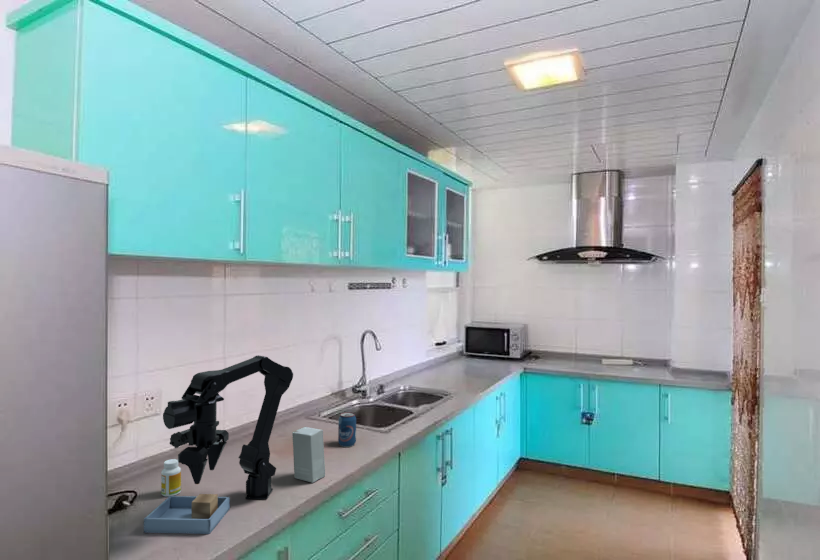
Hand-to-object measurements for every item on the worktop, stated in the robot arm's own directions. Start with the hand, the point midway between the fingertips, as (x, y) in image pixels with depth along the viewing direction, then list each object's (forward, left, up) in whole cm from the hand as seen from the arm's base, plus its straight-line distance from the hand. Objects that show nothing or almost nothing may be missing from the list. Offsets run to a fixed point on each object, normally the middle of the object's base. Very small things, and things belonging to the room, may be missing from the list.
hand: (204, 476), depth 134 cm
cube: (0, 0, -11) cm, 11 cm away
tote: (+4, +1, -12) cm, 12 cm away
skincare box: (-22, -28, -12) cm, 37 cm away
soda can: (-30, -60, -12) cm, 68 cm away
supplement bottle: (+17, -15, -12) cm, 25 cm away
